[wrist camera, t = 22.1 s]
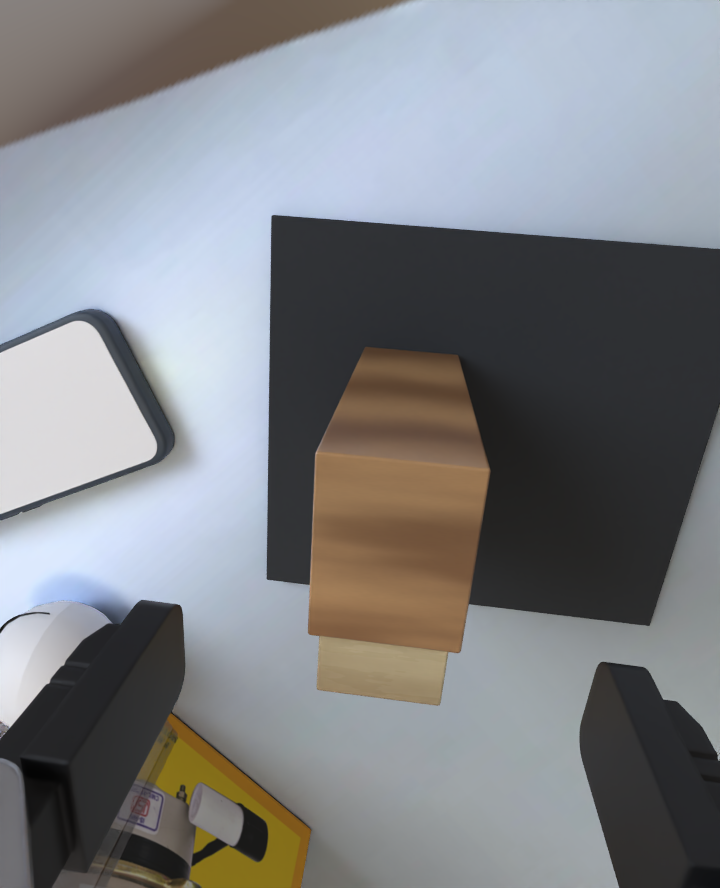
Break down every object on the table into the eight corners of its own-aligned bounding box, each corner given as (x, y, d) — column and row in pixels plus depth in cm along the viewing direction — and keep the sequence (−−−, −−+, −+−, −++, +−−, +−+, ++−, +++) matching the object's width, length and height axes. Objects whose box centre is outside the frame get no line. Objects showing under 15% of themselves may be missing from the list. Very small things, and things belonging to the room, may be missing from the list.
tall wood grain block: (353, 500, 31) (364, 346, 28) (438, 509, 31) (458, 354, 28) (304, 699, 18) (314, 451, 15) (450, 718, 18) (491, 469, 15)
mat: (760, 252, 25) (768, 253, 25) (646, 619, 33) (649, 626, 32) (274, 215, 27) (271, 214, 26) (269, 574, 34) (266, 580, 33)
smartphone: (108, 298, 29) (-128, 400, 32) (91, 301, 28) (-154, 408, 31) (186, 449, 32) (-39, 530, 35) (175, 460, 30) (-59, 543, 34)
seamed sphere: (110, 563, 35) (35, 644, 28) (163, 656, 37) (105, 753, 30) (-19, 599, 37) (-119, 683, 30) (38, 686, 39) (-42, 782, 32)
